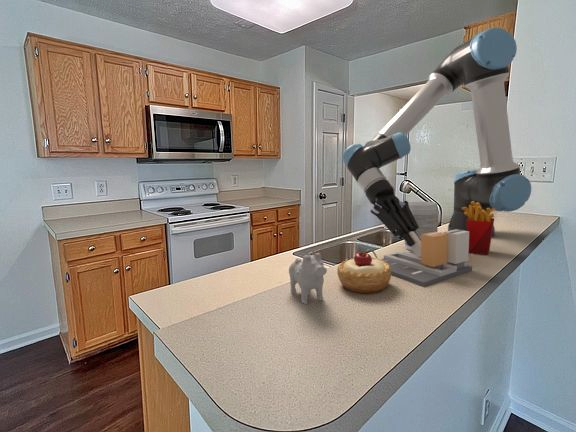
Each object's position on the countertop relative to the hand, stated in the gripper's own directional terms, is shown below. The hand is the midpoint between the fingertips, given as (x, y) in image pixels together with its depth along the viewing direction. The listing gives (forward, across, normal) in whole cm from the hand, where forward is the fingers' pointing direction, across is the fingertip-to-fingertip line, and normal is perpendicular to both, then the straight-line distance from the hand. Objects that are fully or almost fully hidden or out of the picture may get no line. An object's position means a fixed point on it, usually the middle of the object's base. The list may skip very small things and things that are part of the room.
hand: (423, 255), depth 82 cm
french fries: (+2, -25, -4) cm, 26 cm away
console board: (+2, 0, -4) cm, 4 cm away
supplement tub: (-7, -16, -13) cm, 22 cm away
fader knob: (+4, 0, 0) cm, 4 cm away
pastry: (+3, +19, -4) cm, 20 cm away
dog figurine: (+1, +33, -5) cm, 33 cm away
